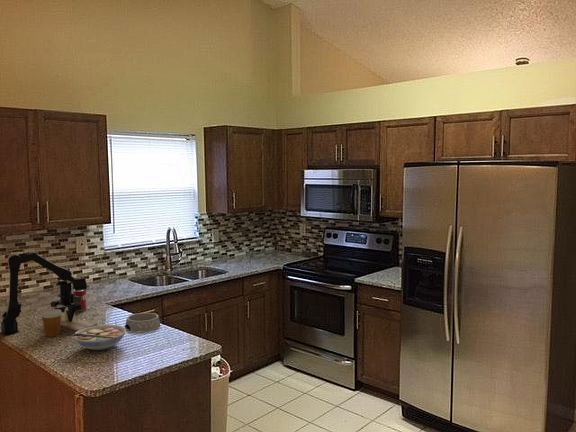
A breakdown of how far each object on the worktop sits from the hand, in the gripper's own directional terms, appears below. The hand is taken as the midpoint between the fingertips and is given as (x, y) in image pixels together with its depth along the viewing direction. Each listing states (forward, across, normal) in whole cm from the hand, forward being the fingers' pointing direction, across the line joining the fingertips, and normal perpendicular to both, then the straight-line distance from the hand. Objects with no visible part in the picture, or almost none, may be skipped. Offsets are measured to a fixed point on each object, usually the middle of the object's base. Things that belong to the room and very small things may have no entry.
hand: (66, 321), depth 262 cm
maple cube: (+2, 0, 0) cm, 2 cm away
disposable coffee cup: (+2, -10, +15) cm, 18 cm away
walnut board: (+2, -13, +2) cm, 13 cm away
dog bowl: (+2, -38, -18) cm, 42 cm away
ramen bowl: (+2, -45, +15) cm, 47 cm away
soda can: (+2, +17, -21) cm, 27 cm away
